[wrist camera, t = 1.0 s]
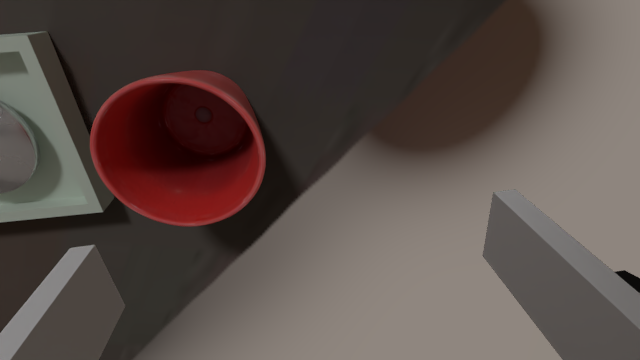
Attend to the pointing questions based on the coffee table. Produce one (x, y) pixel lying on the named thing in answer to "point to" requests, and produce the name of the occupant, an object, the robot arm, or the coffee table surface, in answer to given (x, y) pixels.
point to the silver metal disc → (16, 150)
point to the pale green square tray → (48, 134)
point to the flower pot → (180, 147)
